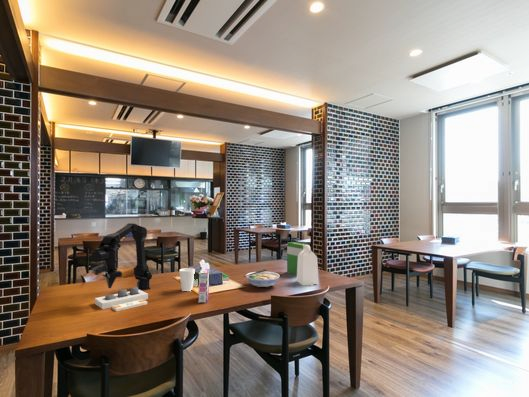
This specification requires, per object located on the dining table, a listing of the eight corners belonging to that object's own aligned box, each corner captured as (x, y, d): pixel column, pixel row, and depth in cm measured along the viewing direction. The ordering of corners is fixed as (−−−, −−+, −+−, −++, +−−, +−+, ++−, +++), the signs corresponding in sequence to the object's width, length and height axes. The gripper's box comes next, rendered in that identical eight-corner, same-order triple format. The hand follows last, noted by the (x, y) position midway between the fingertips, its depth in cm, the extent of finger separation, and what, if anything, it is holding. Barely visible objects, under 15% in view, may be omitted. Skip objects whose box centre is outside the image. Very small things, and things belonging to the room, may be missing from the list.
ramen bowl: (264, 294, 184) (265, 280, 184) (237, 287, 198) (237, 274, 198) (287, 285, 204) (287, 273, 204) (260, 279, 218) (260, 268, 218)
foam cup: (197, 289, 193) (197, 268, 193) (189, 293, 184) (189, 271, 185) (184, 287, 196) (184, 267, 196) (176, 291, 188) (176, 270, 188)
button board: (139, 294, 181) (139, 289, 181) (148, 299, 173) (148, 293, 173) (94, 303, 164) (94, 298, 164) (102, 309, 156) (102, 303, 156)
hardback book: (309, 275, 232) (309, 244, 233) (301, 277, 228) (302, 244, 228) (294, 271, 247) (294, 241, 247) (287, 272, 243) (287, 242, 243)
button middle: (124, 295, 171) (124, 288, 171) (127, 296, 168) (127, 290, 168) (116, 296, 168) (116, 290, 168) (119, 298, 165) (119, 292, 165)
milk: (318, 284, 207) (318, 246, 207) (302, 285, 204) (303, 246, 204) (311, 280, 219) (311, 244, 219) (296, 281, 216) (296, 244, 216)
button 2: (136, 292, 176) (136, 286, 176) (139, 294, 173) (139, 288, 173) (128, 294, 173) (128, 288, 173) (131, 296, 170) (131, 289, 170)
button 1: (112, 300, 167) (112, 294, 167) (115, 302, 164) (115, 296, 164) (103, 302, 164) (103, 295, 164) (106, 304, 161) (106, 297, 161)
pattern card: (142, 301, 168) (142, 298, 168) (147, 304, 164) (147, 301, 164) (111, 308, 157) (112, 305, 157) (116, 311, 153) (116, 308, 153)
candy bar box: (207, 303, 167) (207, 273, 167) (198, 303, 166) (198, 273, 167) (209, 296, 178) (209, 268, 178) (200, 297, 177) (200, 268, 178)
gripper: (88, 258, 165) (87, 287, 164) (99, 263, 152) (99, 294, 151) (110, 256, 173) (109, 283, 172) (122, 260, 160) (122, 290, 159)
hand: (109, 288), depth 164 cm, fingers closed
